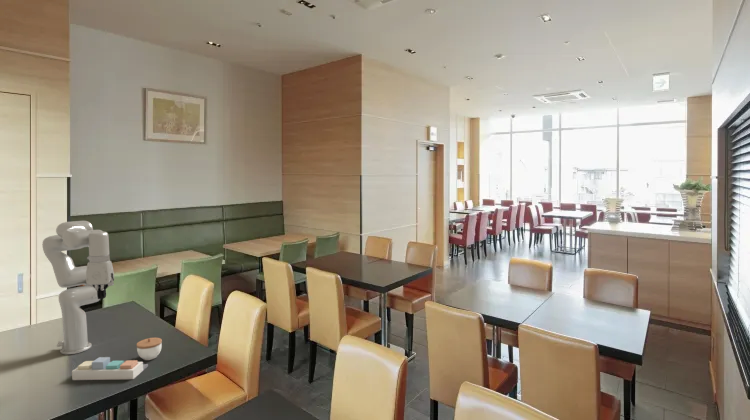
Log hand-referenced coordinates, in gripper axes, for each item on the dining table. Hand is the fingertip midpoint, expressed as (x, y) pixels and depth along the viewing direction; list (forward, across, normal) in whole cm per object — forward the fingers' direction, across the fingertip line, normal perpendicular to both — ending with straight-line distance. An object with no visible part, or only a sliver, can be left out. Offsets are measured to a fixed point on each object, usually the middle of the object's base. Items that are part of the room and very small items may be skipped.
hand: (101, 298), depth 179 cm
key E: (+32, -2, -9) cm, 33 cm away
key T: (+32, +10, -9) cm, 34 cm away
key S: (+30, +4, -9) cm, 32 cm away
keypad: (+32, +7, -7) cm, 34 cm away
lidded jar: (+32, +16, +8) cm, 37 cm away
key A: (+32, +16, -9) cm, 37 cm away
